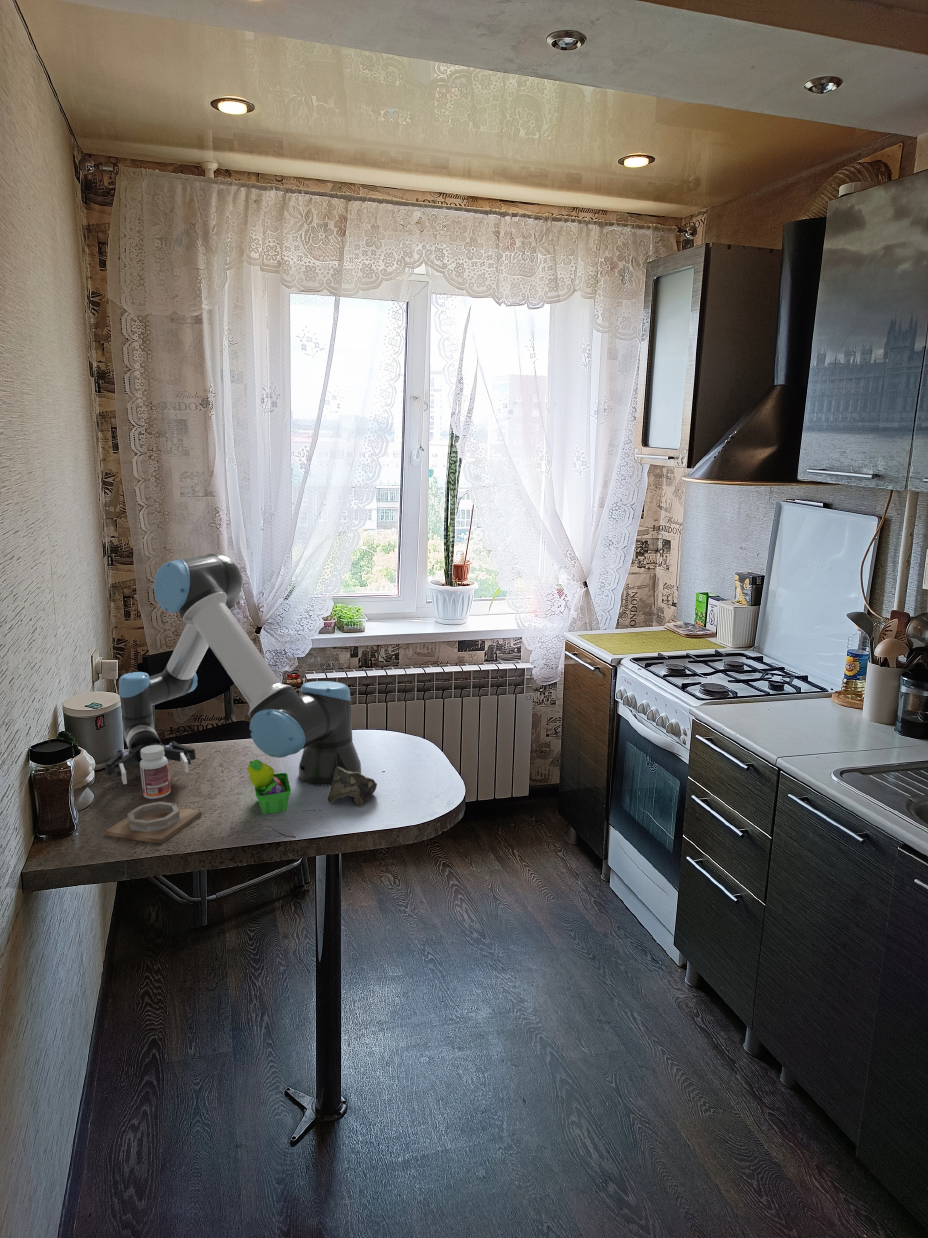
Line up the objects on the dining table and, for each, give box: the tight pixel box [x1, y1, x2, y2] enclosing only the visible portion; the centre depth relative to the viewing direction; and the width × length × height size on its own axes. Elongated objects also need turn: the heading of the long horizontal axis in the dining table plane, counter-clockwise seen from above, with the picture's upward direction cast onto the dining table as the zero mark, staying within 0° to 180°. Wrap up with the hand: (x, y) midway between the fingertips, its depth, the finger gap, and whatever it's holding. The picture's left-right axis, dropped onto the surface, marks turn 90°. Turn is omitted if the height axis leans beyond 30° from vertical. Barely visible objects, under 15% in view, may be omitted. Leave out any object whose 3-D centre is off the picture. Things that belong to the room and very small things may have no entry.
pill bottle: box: [139, 745, 171, 800], centre depth 200 cm, size 6×6×11 cm
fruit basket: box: [247, 759, 292, 815], centre depth 193 cm, size 11×9×11 cm
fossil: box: [326, 767, 378, 807], centre depth 195 cm, size 11×9×10 cm
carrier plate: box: [104, 801, 203, 845], centre depth 185 cm, size 14×14×3 cm
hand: (156, 772), depth 197 cm, fingers open, 13 cm apart
